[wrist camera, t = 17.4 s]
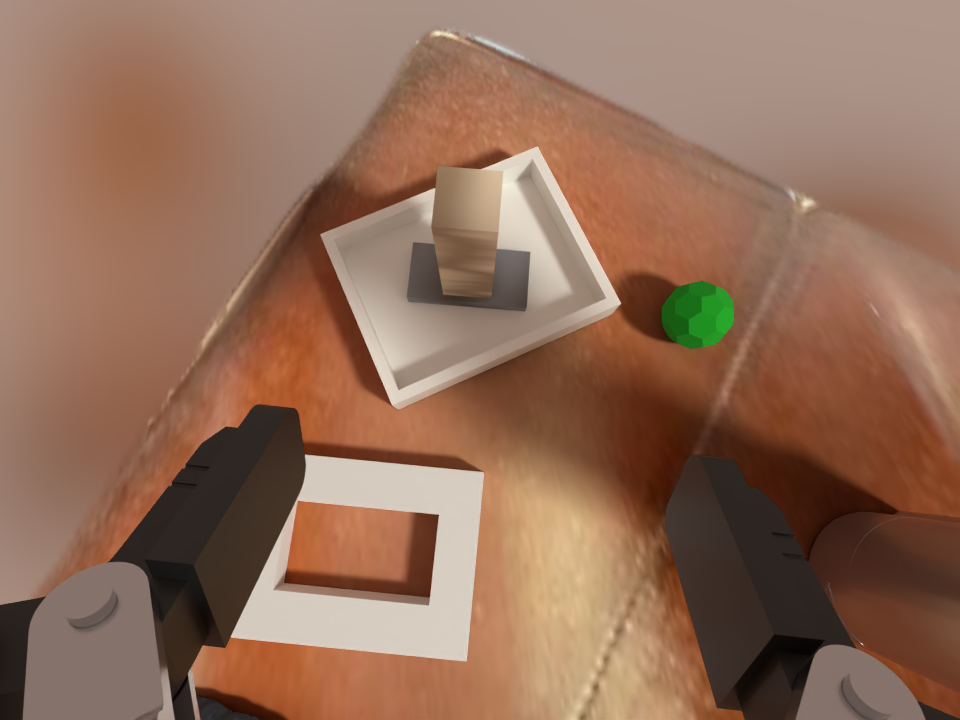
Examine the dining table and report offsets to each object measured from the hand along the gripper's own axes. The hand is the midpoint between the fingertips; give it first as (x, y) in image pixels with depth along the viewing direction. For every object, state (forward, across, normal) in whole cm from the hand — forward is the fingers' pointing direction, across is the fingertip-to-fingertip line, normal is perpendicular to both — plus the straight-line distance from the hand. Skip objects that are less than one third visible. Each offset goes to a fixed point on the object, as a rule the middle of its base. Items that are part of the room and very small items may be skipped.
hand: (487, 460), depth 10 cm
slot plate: (+14, +7, +24) cm, 29 cm away
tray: (+29, +2, +9) cm, 30 cm away
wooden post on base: (+28, +2, +9) cm, 30 cm away
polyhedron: (+28, -15, +11) cm, 34 cm away
